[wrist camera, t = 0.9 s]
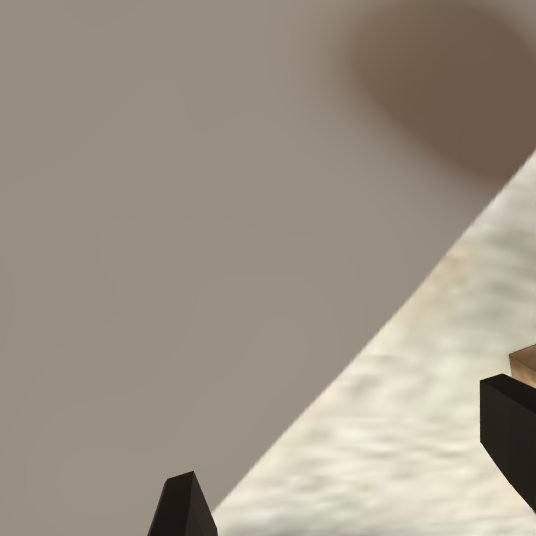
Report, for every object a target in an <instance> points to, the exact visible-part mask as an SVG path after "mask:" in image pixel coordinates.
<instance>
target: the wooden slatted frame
mask: <svg viewBox="0 0 536 536" xmlns="http://www.w3.org/2000/svg"><path fill="white" fill-rule="evenodd" d="M509 359H510V365H511V372H512V378H514V379H516V380H519V381H521V382H523V383H525V384H527V385H530V386H532V387H534V388H536V345H534V346H531V347H528V348H526V349H523V350H520V351H517V352H515V353H512V354H509ZM533 512H534V510H533ZM534 513H535V512H534ZM535 514H536V513H535Z"/></svg>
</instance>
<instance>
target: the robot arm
mask: <svg viewBox="0 0 536 536" xmlns="http://www.w3.org/2000/svg"><path fill="white" fill-rule="evenodd" d="M480 442H481V443H482V445H483V446H484V448H485V449H486V451H487V452H488V454H489V455H490V457H491V458H492V459H493V461H494V462H495V464H496V465H497V467H498V468H499V469H500V471H501V472H502V473H503V475H504V476H505V477H506V479H507V480H508V482H509V483H510V484H511V485H512V486H513V487H514V489H515V490H516V491H517V492H518V493H519V494H520V496H521V497H522V498H523V499H524V500H525V501H526V502H527V504H528V505H529V506H530V507H531V508H532V509H533V510H534V512H535V513H536V388H534V387H532V386H530V385H527V384H525V383H523V382H521V381H519V380H516V379H514V378H512V377H509V376H507V375H505V374H499V375H496V376H493V377H490V378H486V379H483V380H480ZM147 536H218V533H217V528H216V525H215V523H214V520H213V518H212V515H211V513H210V510H209V508H208V505H207V503H206V500H205V498H204V496H203V493H202V491H201V488H200V485H199V483H198V480H197V478H196V475H195V473H194V471H192V472H188V473H185V474H182V475H179V476H176V477H172V478H169V479H167V481H166V482H165V484H164V487H163V491H162V493H161V497H160V500H159V503H158V506H157V509H156V512H155V515H154V518H153V521H152V524H151V527H150V530H149V532H148V535H147Z"/></svg>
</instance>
